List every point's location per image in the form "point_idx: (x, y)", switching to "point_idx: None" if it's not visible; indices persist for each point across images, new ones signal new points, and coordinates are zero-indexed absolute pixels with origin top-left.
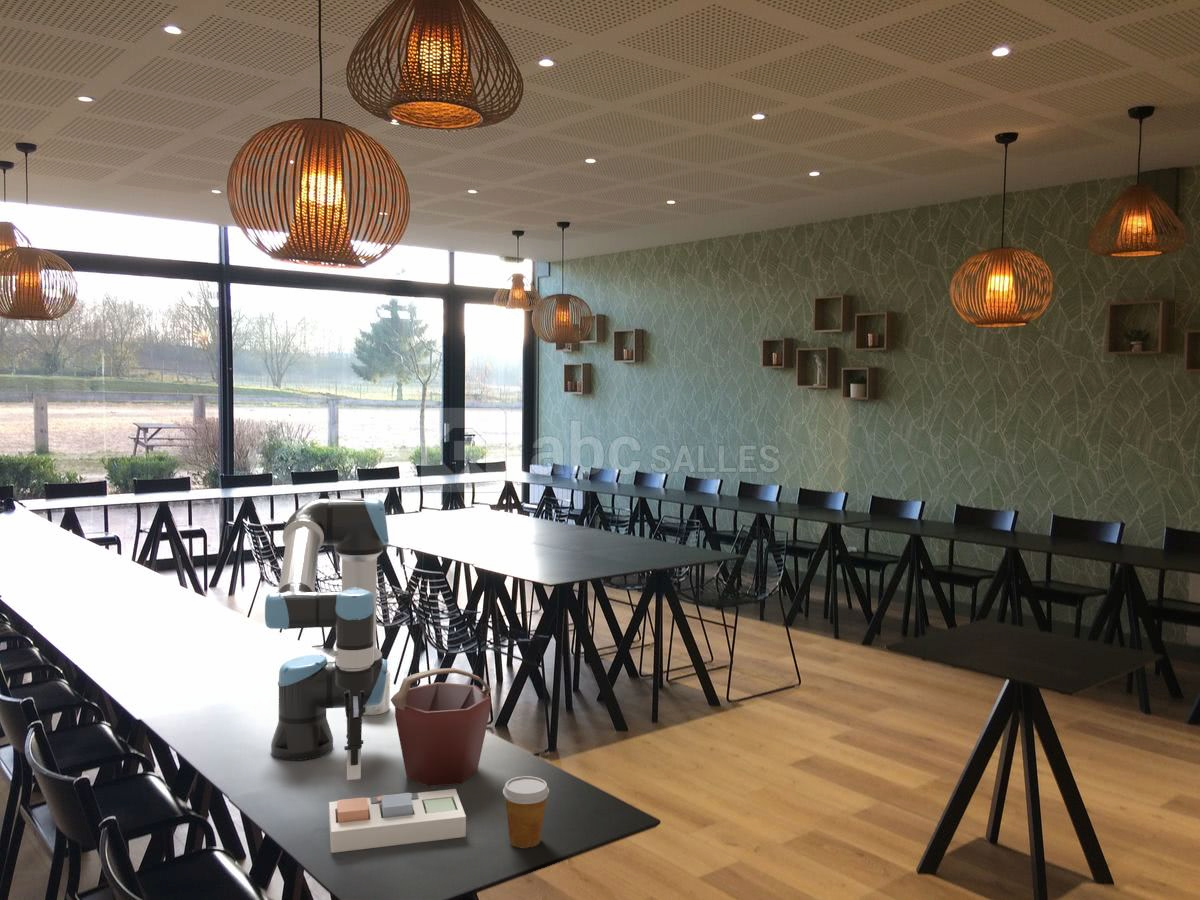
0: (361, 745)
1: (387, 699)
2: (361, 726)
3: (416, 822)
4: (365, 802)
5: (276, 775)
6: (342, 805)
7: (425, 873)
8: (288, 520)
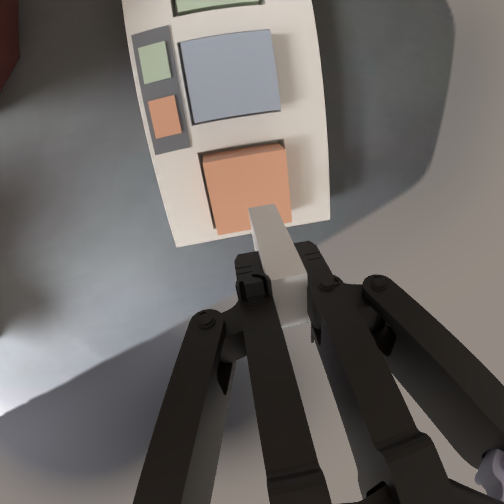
0: (384, 284)
1: None
2: (484, 367)
3: (315, 28)
4: (239, 161)
5: (35, 328)
6: None
7: (413, 42)
8: None
